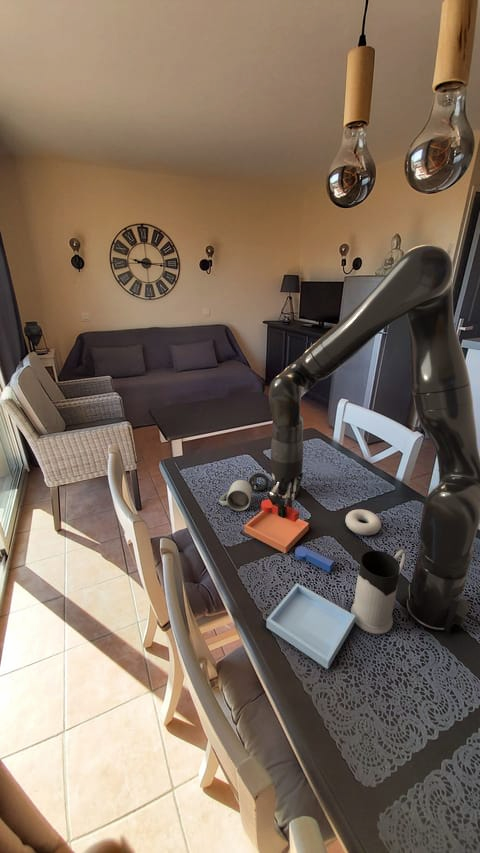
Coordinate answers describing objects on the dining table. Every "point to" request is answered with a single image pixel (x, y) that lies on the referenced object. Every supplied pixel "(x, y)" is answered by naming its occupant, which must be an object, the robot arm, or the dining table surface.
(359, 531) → the donut
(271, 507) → the red spoon
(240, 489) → the ceramic mug
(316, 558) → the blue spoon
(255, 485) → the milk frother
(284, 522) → the terracotta tray
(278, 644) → the dining table surface
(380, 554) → the grey pitcher
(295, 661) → the dining table surface
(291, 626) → the blue tray
